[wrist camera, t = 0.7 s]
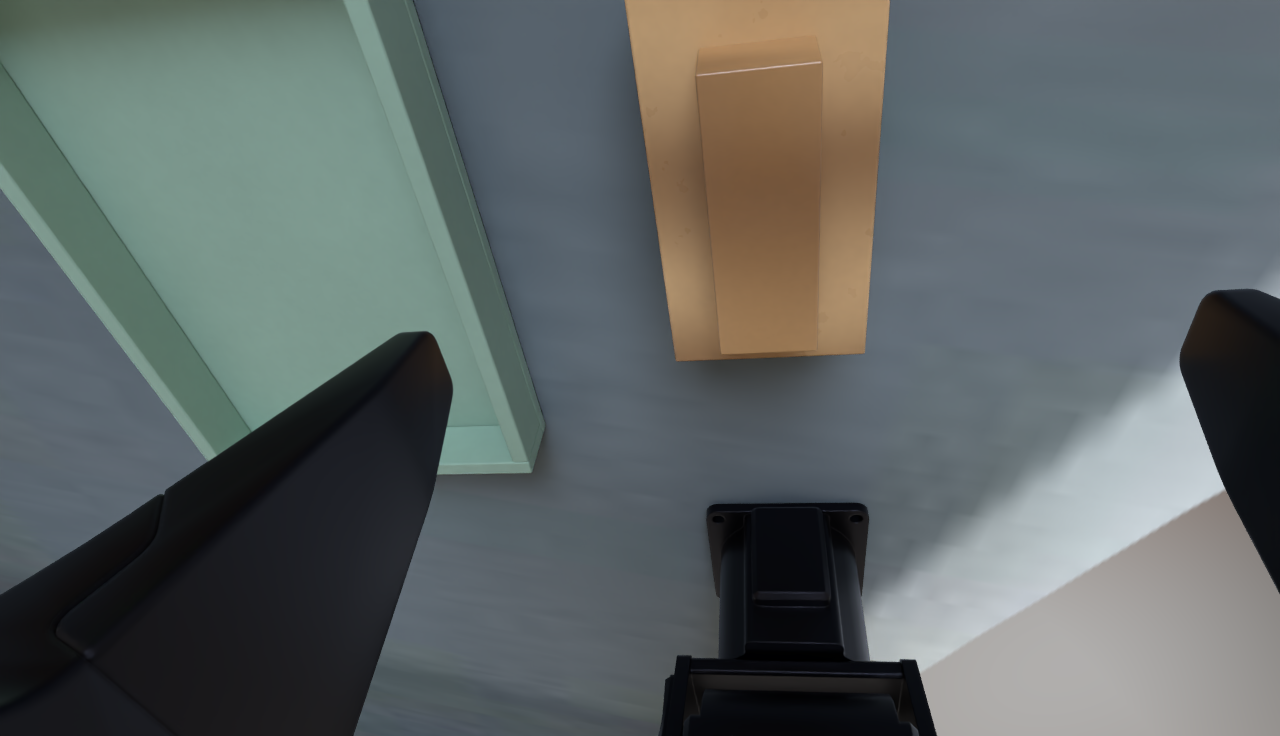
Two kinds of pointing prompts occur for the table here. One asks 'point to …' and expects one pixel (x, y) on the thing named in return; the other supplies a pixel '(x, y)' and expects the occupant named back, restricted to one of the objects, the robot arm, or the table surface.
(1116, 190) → the table surface
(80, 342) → the table surface
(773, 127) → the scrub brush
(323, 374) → the tray
